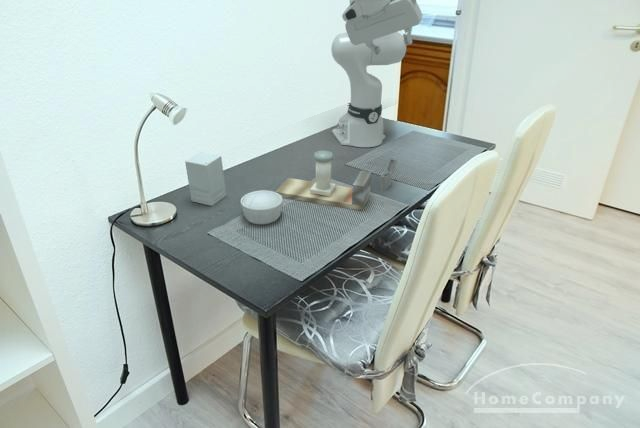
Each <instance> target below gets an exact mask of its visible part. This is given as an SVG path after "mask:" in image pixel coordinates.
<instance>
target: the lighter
mask: <svg viewBox="0 0 640 428" xmlns="http://www.w3.org/2000/svg"><path fill="white" fill-rule="evenodd" d="M397 163H398V160H397V159H394V158H390V159H389V162H388V166H387V170H385V171H383V174H382V175H380V182H379V183H380V184H379V189H380V190H381V191H387V189H389V188H390V187H391V186H392V185H391V183H392V174H394V173H395V169H396V166H397Z"/></svg>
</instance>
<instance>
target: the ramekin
mask: <svg viewBox="0 0 640 428" xmlns="http://www.w3.org/2000/svg"><path fill="white" fill-rule="evenodd" d="M239 204H240V206H241V208H242V212H243V215H244V217H245V219H246V220H247V221H248V222H250V224H255V225H268V224H269V225H270V224H272V223H274V222H275V221H277V220H278V219H279V218H280V216H281V214H282V206H283V204H284V198H282V196H281V195H280V194H278V193H276V191H273V190H265V189H262V190H254V191H251V192H248V193H246V194H244V195H243V196H242V197H241V199H240V203H239Z"/></svg>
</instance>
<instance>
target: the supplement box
mask: <svg viewBox="0 0 640 428" xmlns="http://www.w3.org/2000/svg"><path fill="white" fill-rule="evenodd" d="M222 159H223V158H222V155H219V154H218V155H217V154H211V153H207V152H202V151H201V152H199V153H197V154H195V155H194V156H192V157H191V158H188V159H186V160H185V161H184V162H185V169H186V175H187V180H188V181H187V182H188V186H189V194H190V198H191V199H190V200H191V202H192V203H193V202H194V203H199V204H201V205H206V206H211V207H212V206H214V205H215V204H217V203H218V202H219V201H220V200H222V199H223V198H225V197H226V196H227V192H226V184H225V183H226V182H225V175H224V169H223V168H224V167H223V160H222Z"/></svg>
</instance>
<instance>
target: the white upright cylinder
mask: <svg viewBox="0 0 640 428" xmlns="http://www.w3.org/2000/svg"><path fill="white" fill-rule="evenodd" d="M313 155H314V156H313V158H314V159H313V160H314V161H315V181H314V182H315V184H314V185H313V186H312V188H311V189H310V193H312V194H319V195H325V196H330V195H331V194H332V192H333V191H334V189H335V188H336V185H337V184H336V183H333V182H332V160H333V159H334V158H333V157H334V154H333V152H332V151H329V150H318V151H315V152H314V153H313Z"/></svg>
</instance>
